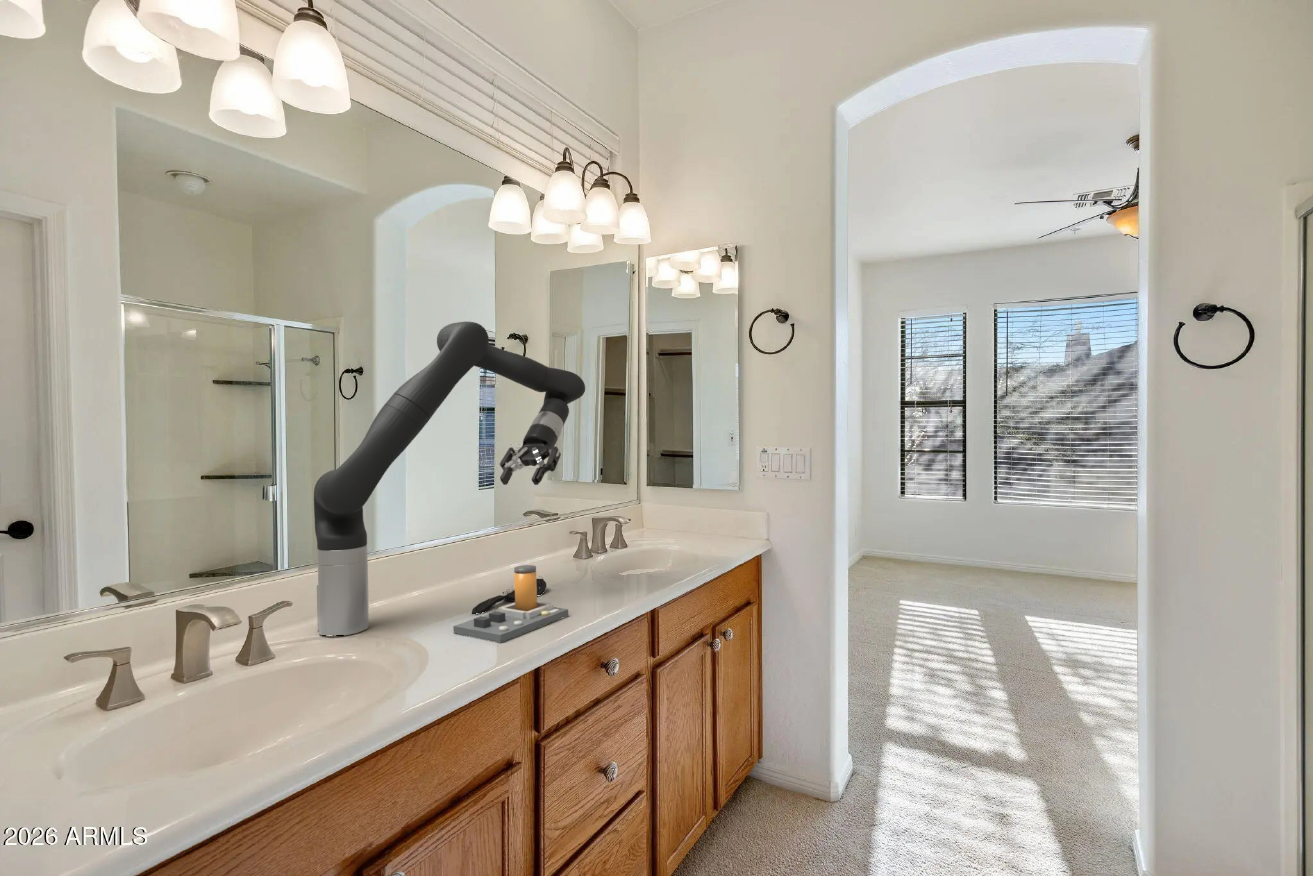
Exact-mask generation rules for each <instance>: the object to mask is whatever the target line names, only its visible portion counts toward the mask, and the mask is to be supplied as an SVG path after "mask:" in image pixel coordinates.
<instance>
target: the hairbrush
mask: <svg viewBox="0 0 1313 876" xmlns="http://www.w3.org/2000/svg"><path fill="white" fill-rule="evenodd" d="M536 584H537V595H541V594H542V595H543V594H544V593H545V592H546V588H547V582H546V581H545V579H544V577H543V576H541V575H538V577H537V578H536ZM543 592H544V593H543ZM542 595H541V596H542ZM502 601H508V602H509V601H510V602H515V589H514V588H513V586H512V587H510V588H509V589H507V590H505V591H502V595H501V594H500V595H496V596H493V597H490V598H488V599H485V600H484V601H482V602H481V601H480V602H479V603H478V604H476V605H475V606H474V607H473V608H472V610H471V615H472V614H476V613H480V614H481V613H482V612H485V611H486V612H487V611H489V610H490V609H492V608H493V607H494V606H495V605H496V604H497V603H500V602H502ZM486 612H485V613H486Z"/></svg>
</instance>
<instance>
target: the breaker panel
mask: <svg viewBox="0 0 1313 876" xmlns="http://www.w3.org/2000/svg"><path fill="white" fill-rule="evenodd" d="M566 616H567V617H569V609H568V608H562V607H555V605H554V603H552V602H549V601H548V602H547V601H542V600H537V608H535V609H533V610H530V611H521V610H515V602H513V603H509V604H506V605H503V606H500V607H498V610H497V611H492V612H489V613H488V614H485V615H482V616H481V615H480V616H477V617H474V618H473V619H470V620H467V621H465V622H464V621H463V622H462V623H458V624H455V625H453V634H454V633H457V634H456V635H458V636H464V635H465V637H469V636H470V638H473V637H474V639H478V638H480V639H479V640H482V641H483V640H485V641H488V640H489V641H488V642H495V643H499V644H501V643H504V642H506V641H509V640H512V639H514V638H516V636H517V637H520V636H522V635H525V634H527V633H529V631H530V632H532V631H534V629H535V630H536V628H537V629H539V628H542V627H545V626H547V625H550V624H551V623H550V622H552V623H554V621H555V620H557V621H559V620H558V619H560V620H562V619H563V618H562V617H565V618H567V617H566ZM561 618H562V619H561ZM555 622H556V621H555ZM549 623H550V624H549ZM546 624H547V625H546ZM544 625H545V626H544ZM541 626H542V627H541ZM511 638H512V639H511Z"/></svg>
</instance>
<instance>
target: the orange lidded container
mask: <svg viewBox="0 0 1313 876" xmlns="http://www.w3.org/2000/svg"><path fill="white" fill-rule="evenodd" d="M513 573H514V577H513V578H514V590H515V601H514V603H515V610H521V611H530V610H533V609H535V608H537V601H538V597H537V584H536V579H537V566H536V565H533V564H532V565H531V564H530V565H529V564H528V565H527V564H525V565H518V566H514V572H513Z"/></svg>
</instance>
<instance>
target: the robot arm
mask: <svg viewBox="0 0 1313 876" xmlns="http://www.w3.org/2000/svg"><path fill="white" fill-rule="evenodd" d="M489 340H490V338H489V335H488V332H487V330H486V328H485V327H484V326H483V325H481V324H480V323H477V322H474V321H458V322H452V323H449V324H446V325H445V326H443V327H442V328H441V329H440V330H439V332H438V333H437V337H436V345H437V348H438V350H439V352H438V354H437V355H436V356H435V358H434V359H432V361H431V362H430V363H429V364H428V365H426V366H425V367H424V368H423V369H421V370H419V372H417V373H416V374H415V375H413V376H412V377H411V378H409V379H408V380H406V381H405V382H403V384H401V386H400V387H398V388H397V390H396V391H395V392H393V394H392V395H391V396H390V397H389V398H388V400H387V401H386V403H384V405H383V406H382V407H381V408H380V410H379V411H378V412H377V415H375V418H374V419H373V421H372V422H371V425H370V426H369V429H368V430H367V432H366V434H365V436H364V437H363V439H362V442H360V444H359V445H358V447H357V448H356V449H355V450H354V451H353V452H352V454H350V456H349V457H348V458H347V459H346V460H345V461H344V462H343V463H342V464H340V466H338V468H336V469H331V470H330V471H326V472H325V473H323V474H322V475H321V476H320V477H319V478H318V479H317V481H316V483H315V484H314V488H313V489H314V490H313V512H314V515H313V516H314V531H315V538H316V544H317V545H316V548H317V549H316V550H317V585H316V614H317V620H316V622H317V631H318V632H319V635H321V636H322V635H344V636H349V635H355V634H358V633H360V632H364V631H365V630H367V629H369V627H370V617H369V616H370V613H369V610H370V609H369V608H370V607H369V605H370V603H369V601H370V600H369V569H368V568H369V567H368V566H369V565H368V564H369V561H368V533H367V530H366V528H365V527H366V526H365V521H364V508H363V507H364V506H365V504H366V503H367V502H368V500H369V499H370V497H371V496H372V495H373V492H374V491H375V489H376V487H377V486H378V484H379V483H380V481H381V480H382V479H383V477H384V475H385V474H386V472H387V470H388V469H389V468H390V467H391V466H392V464H393V463H394V462H395V461H396V459H397V458H398V457H399V456H400V455H401V454H402V453H403V452H404V451H405V450H406V449H407V447H409V445H410V444H411V443H412V442H413V440H414V439H415V438H416V437H417V436H418V435H419V434H420V433H421V431H422V430H423V429H424V428H425V426H426V425H427V424H428V422H429V421H430V420H431V419H432V417H433V416H434V414H435V413H436V412H437V410H438V409H439V408H440V407H441V406H442V404H443V403H444V401H446V399H447V397H448V396H449V394H450V393H451V392H452V390H454V388H455V387H456V385H457V384H458V383H459V382H460V381H461V379H462V378H464V376H465V375H466V374H468V373H469V371H470V370H471V369H472V368H473V367H477V368H480V369H483V370H486V371H489V372H491V373H494V374H496V375H498V376H501V377H503V378H505V379H508V380H510V381H512V382H515V383H516V384H519V385H521V386H523V387H525V388H528V389H531V390H532V391H535V392H538V393H544V399H543V404H542V406H541V407H540V409H539V411H538V413H537V415H536V416H535V417H534V419H533V420H532V423H531V424H530V426H529V428H528V430H527V432H526V434H525V436H524V438H523V441H522V445H521V447H519V449H514V447H512V446H511V447H509V448H508V449H507V451H506V453H505V454H504V455H503V457H502V459H501V461H500V462H499V467H500V468H501V469H502V473H501V475H500V477H499V480H500V481H501V483H502V485H503V486H505V485H508V484H509V482H510V480H511V479H512V476H513V473H515V472H516V471H517V470H521V469H523V468H524V467H530V466H532V467H536V466H537V465H538V467H536V469H535V471H534V473H533V475H532V477H531V482H532V484H534V486H538V485H539V484H540V483H541V482H542V480H543V478H544V476H545V474H547V473H548V472H554V471H555V470H556V469H557V466H558V464H559V460H560V459H561V456H562V453H561V451H560V450H559V448H558V447H557V446H556V444H557V442H558V440H559V438H560V435H561V434H562V430H563V428H564V426H565V424H566V421H567V419H568V417H569V415H570V408H569V404H571V403H573V402H575V401H576V400H578V399H580V398H581V397H582V396H583V395H584V394H585V392H586V384H585V382H584V380H583V378H581V376H579V375H578V374H576V373H575V372H572V371H570V370H566V369H560V368H554V367H550V366H548V365H545V364H543V363H541V362H539V361H536V360H535V359H533V358H530V357H527V356H524V355H521V354H518V353H514V352H511V351H508V350H505V349H503V348H499V347H497V346H494V345H491V344H489V342H490V341H489ZM546 459H547V460H546ZM518 460H519V461H520V463H519V462H518ZM545 460H546V462H545ZM513 465H514V466H513Z"/></svg>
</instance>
